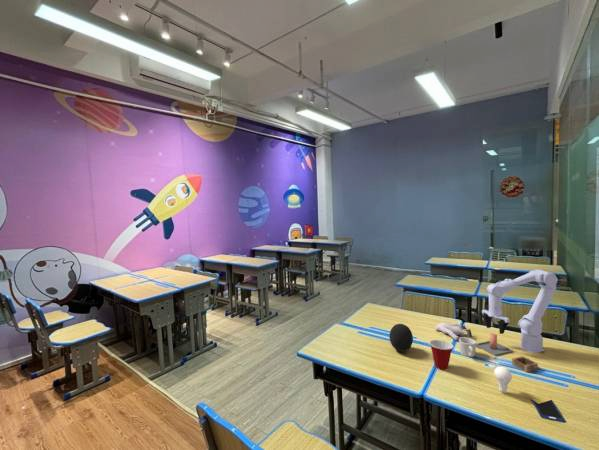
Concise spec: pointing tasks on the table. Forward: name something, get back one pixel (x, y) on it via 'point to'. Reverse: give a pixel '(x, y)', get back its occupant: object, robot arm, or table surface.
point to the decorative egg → (401, 337)
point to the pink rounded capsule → (493, 341)
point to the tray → (486, 347)
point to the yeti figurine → (453, 330)
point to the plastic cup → (441, 353)
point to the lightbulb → (503, 378)
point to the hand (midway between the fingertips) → (495, 330)
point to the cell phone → (548, 411)
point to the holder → (524, 364)
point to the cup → (467, 346)
